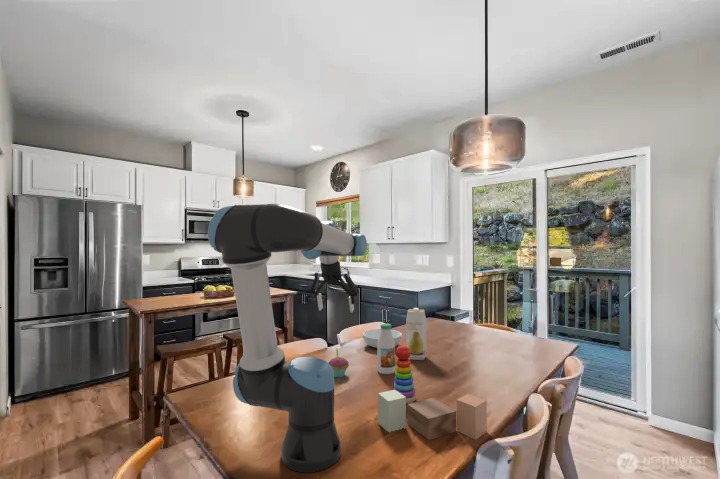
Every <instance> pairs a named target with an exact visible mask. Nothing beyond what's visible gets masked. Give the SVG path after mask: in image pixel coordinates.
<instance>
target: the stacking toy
mask: <svg viewBox="0 0 720 479" xmlns="http://www.w3.org/2000/svg"><path fill="white" fill-rule="evenodd" d="M395 357H397V359H395V372H394V383H393V390H396V391H398V392H399V393H401V394H402V395H404V396H405V397H406V405H408V404H410V403H414V402H416V399H417V396H416V389H415V385H414V377H413V372H412V370H413V369H412V365H411V364H412V363H411V359H408V358H409V357H410V350H409V348H408V347H407V346H406V345H405V344H403V345H399V346H397V347H396V348H395Z"/></svg>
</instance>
